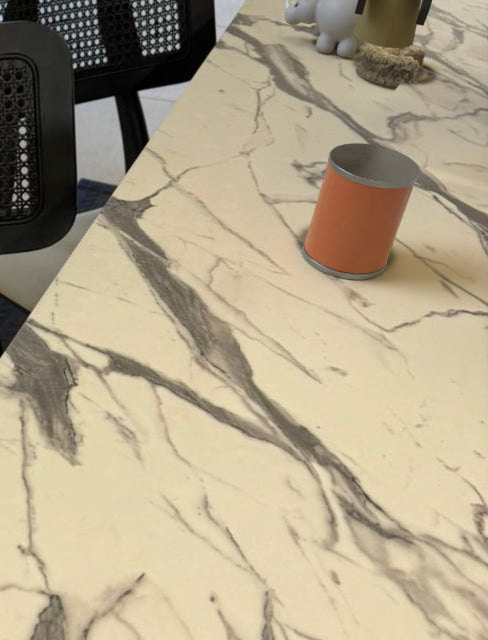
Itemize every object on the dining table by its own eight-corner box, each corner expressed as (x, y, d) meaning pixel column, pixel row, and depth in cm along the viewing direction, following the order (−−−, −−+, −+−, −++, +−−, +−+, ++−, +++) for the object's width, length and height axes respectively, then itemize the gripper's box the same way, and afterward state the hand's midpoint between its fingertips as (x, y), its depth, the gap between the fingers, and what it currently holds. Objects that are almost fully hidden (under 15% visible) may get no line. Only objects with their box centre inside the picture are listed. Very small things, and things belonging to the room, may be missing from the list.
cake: (351, 86, 138) (360, 45, 134) (357, 63, 145) (365, 23, 141) (429, 94, 135) (440, 52, 132) (431, 71, 142) (441, 30, 139)
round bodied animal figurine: (285, 30, 151) (300, -32, 146) (364, 49, 148) (383, -14, 142) (270, 43, 147) (285, -20, 141) (352, 63, 143) (371, -1, 137)
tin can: (394, 253, 102) (428, 158, 96) (373, 289, 97) (408, 191, 90) (315, 229, 105) (343, 135, 98) (290, 262, 99) (318, 165, 93)
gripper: (541, -172, 101) (478, 49, 100) (356, -197, 105) (293, 16, 104) (567, -231, 94) (499, 7, 93) (367, -255, 98) (300, -27, 97)
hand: (391, 11), depth 99 cm, fingers closed on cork, 5 cm apart
